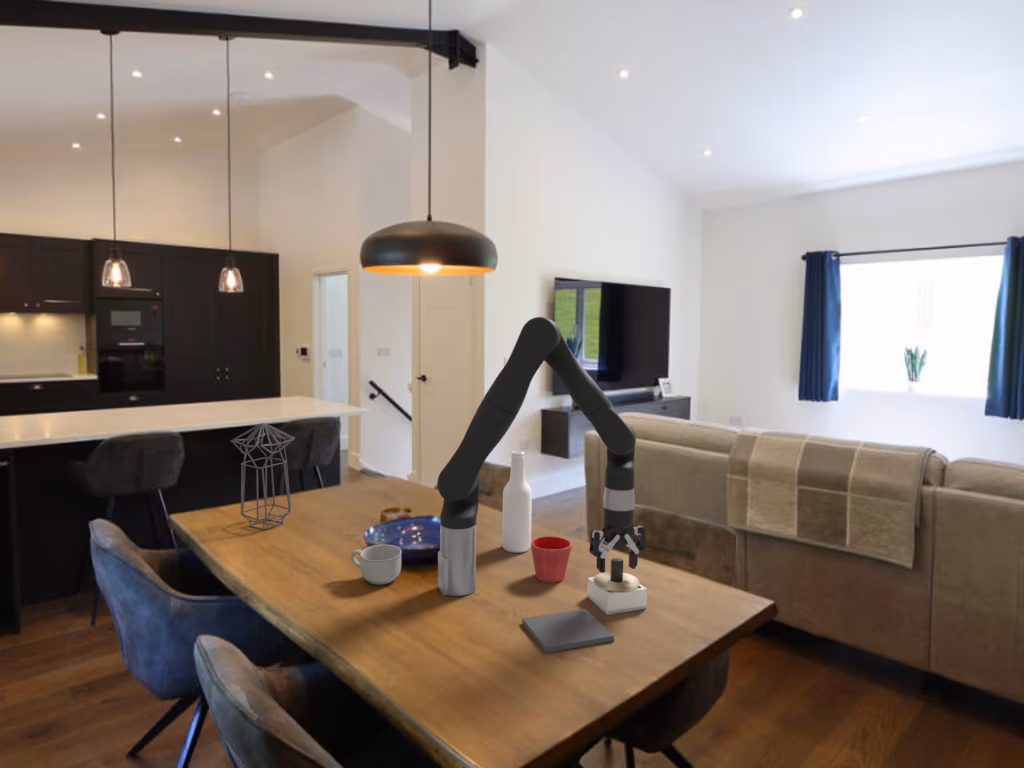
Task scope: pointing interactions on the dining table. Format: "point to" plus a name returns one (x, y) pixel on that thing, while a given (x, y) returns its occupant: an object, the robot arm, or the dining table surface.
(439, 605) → the dining table surface
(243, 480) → the geometric lantern
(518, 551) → the alcohol
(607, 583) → the lid
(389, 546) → the teacup
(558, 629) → the mat
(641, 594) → the dish
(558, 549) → the flower pot
